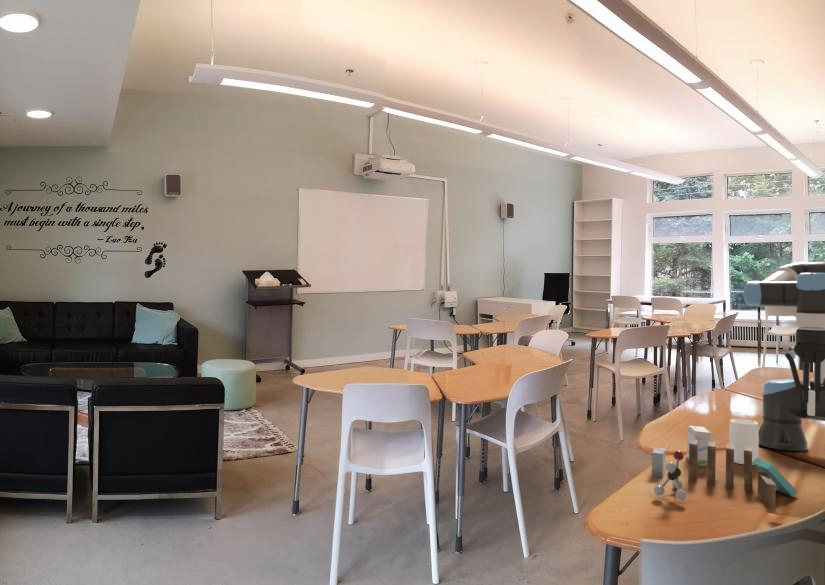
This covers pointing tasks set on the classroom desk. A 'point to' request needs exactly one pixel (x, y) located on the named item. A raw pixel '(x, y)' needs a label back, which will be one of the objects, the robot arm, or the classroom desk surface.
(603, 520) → the classroom desk surface
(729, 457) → the domino
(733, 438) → the cup
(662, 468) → the block
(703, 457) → the ink box
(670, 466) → the molecular model
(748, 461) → the domino
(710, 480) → the domino
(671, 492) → the classroom desk surface
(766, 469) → the teal tile
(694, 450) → the domino
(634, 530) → the classroom desk surface
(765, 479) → the domino
